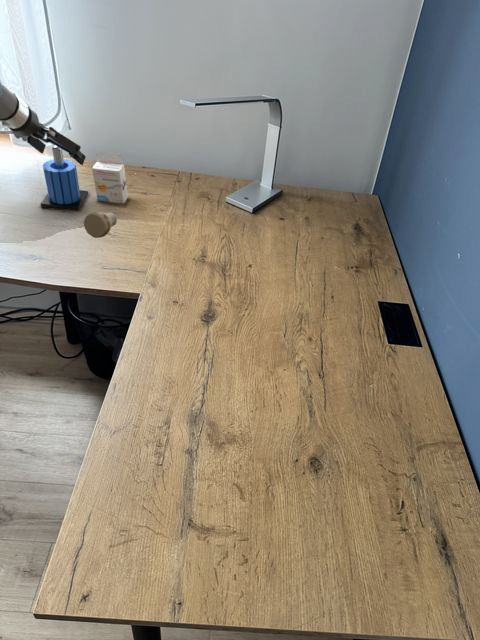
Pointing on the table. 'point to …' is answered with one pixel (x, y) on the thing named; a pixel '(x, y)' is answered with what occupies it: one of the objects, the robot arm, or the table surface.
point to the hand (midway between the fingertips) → (63, 154)
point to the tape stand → (47, 202)
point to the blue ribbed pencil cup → (62, 182)
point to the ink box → (110, 178)
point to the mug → (99, 223)
